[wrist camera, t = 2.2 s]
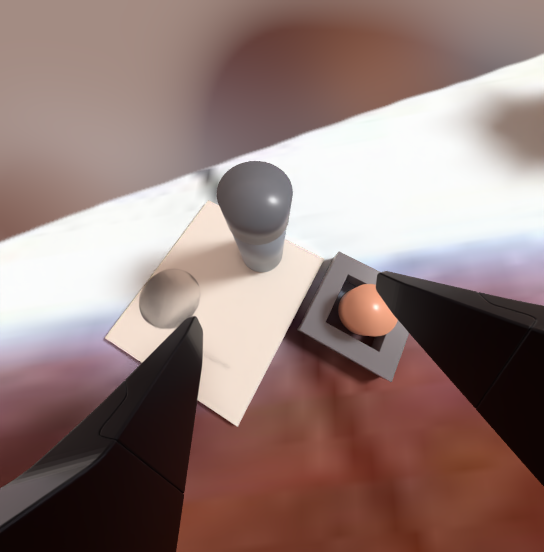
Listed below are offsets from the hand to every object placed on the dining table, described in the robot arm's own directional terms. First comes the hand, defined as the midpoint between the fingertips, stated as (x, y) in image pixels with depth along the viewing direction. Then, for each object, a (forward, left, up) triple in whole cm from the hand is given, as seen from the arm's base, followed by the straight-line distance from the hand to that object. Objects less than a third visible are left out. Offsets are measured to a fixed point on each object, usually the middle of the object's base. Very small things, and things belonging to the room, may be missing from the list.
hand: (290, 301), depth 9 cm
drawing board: (-1, +7, -14) cm, 15 cm away
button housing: (+5, -7, -13) cm, 16 cm away
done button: (+5, -7, -12) cm, 15 cm away
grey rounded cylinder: (+6, +6, -13) cm, 15 cm away
